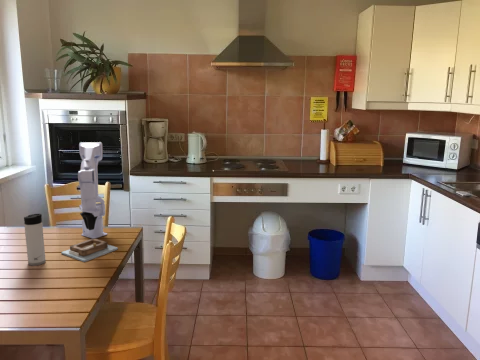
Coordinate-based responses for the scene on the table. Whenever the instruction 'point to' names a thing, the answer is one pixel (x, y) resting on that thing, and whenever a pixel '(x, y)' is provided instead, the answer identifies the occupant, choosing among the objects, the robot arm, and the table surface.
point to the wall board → (90, 256)
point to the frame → (89, 247)
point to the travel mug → (34, 239)
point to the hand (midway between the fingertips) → (90, 229)
